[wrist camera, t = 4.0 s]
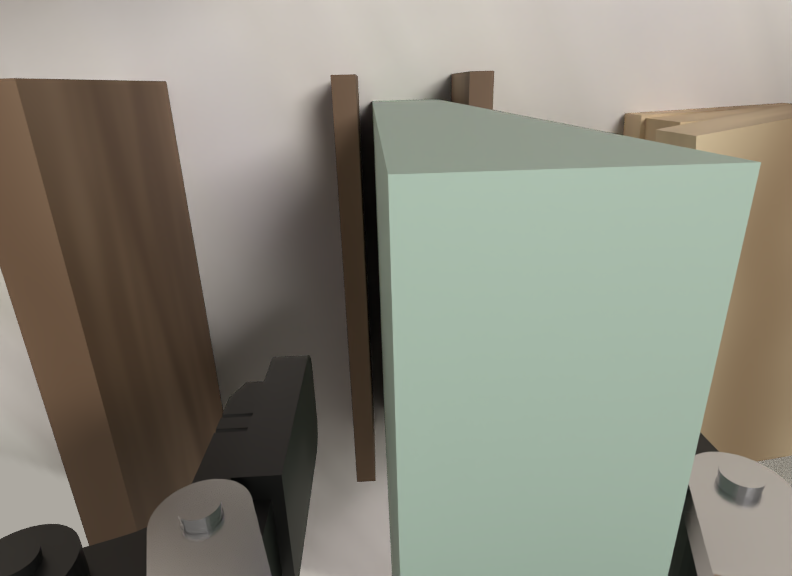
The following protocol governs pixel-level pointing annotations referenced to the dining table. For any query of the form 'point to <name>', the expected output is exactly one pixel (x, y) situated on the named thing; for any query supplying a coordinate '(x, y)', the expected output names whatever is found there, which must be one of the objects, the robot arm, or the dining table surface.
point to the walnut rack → (140, 284)
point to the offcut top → (753, 290)
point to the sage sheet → (545, 337)
